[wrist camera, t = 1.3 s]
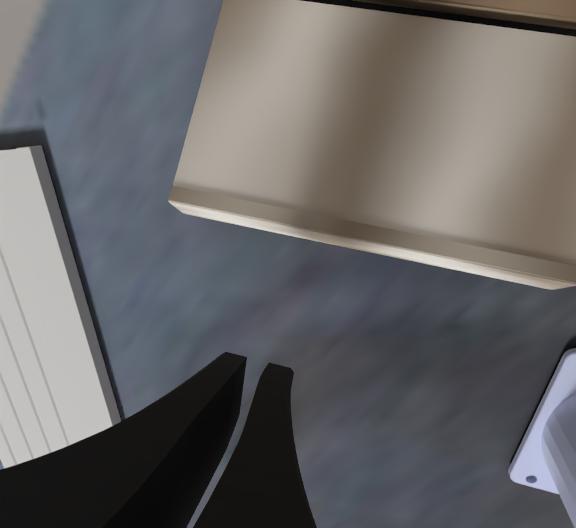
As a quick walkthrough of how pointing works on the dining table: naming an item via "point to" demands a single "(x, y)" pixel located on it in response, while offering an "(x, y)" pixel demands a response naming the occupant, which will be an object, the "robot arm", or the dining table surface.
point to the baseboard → (43, 322)
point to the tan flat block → (389, 137)
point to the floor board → (500, 9)
